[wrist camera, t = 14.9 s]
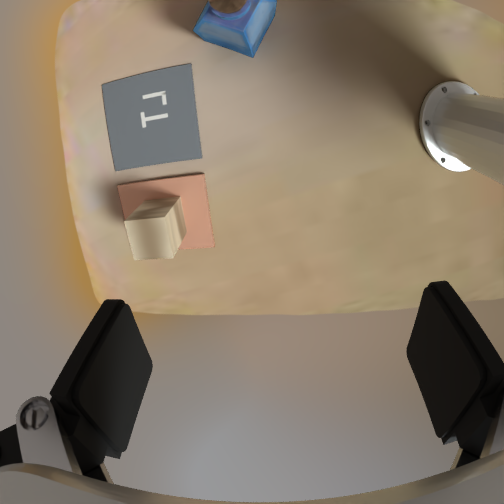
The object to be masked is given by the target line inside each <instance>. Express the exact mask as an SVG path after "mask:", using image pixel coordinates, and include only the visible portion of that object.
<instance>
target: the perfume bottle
mask: <svg viewBox="0 0 504 504" xmlns="http://www.w3.org/2000/svg"><path fill="white" fill-rule="evenodd" d="M276 3H277V0H208V2H207V4H206V6H205V8H204V10H203V12H202V13H201V15H200V17H199V19H198V21H197V23H196V25H195V27H194V29H193V31H194V32H195V33H196V34H198V35H199V36H200V37H201V38H202V39H203V40H204V41H207V42H210V43H213V44H216V45H219V46H222V47H225V48H228V49H231V50H234V51H236V52H239V53H242V54H244V55H247V56H250V57H252V58H253V57H254V55H255V53H256V51H257V49H258V47H259V45H260V43H261V41H262V39H263V37H264V35H265V33H266V31H267V29H268V27H269V26H270V24H271V22H272V20H273V18H274V16H275V10H276Z"/></svg>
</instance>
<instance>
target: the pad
mask: <svg viewBox="0 0 504 504" xmlns="http://www.w3.org/2000/svg"><path fill="white" fill-rule="evenodd" d="M117 187H118V192H119V196H120V201H121V205H122V209H123V213H124V217H125V220H126V219H127V218H128V217H129V216H130V215H131V214H132V213H133V212H134V211H135V210H136V209H137V208H138V207H139V206H140V205H141V204H142V203H143V202H144V201H145V200H153V199H161V198H170V197H180V196H181V202H182V208H183V213H184V219H185V224H186V230H187V233H186V235H185V237H184V239H183V240H182V242H181V244H180V246H179V248H178V249H194V248H209V247H214V246H215V243H214V236H213V230H212V223H211V216H210V210H209V203H208V196H207V189H206V181H205V174H195V175H186V176H178V177H170V178H162V179H155V180H148V181H141V182H134V183H128V184H122V185H118V186H117Z"/></svg>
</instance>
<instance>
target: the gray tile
mask: <svg viewBox="0 0 504 504" xmlns="http://www.w3.org/2000/svg"><path fill="white" fill-rule="evenodd" d="M102 90H103V98H104V106H105V113H106V120H107V126H108V133H109V139H110V144H111V150H112V155H113V161H114V166H115V171H120V170H125V169H131V168H137V167H143V166H149V165H156V164H162V163H169V162H177V161H184V160H192V159H200V158H202V152H201V144H200V136H199V128H198V119H197V111H196V102H195V93H194V84H193V75H192V65H191V64H186V65H181V66H175V67H170V68H166V69H161V70H156V71H152V72H148V73H143V74H139V75H135V76H131V77H128V78H124V79H120V80H117V81H113V82H110V83H107V84H103V85H102Z"/></svg>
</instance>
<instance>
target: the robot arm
mask: <svg viewBox="0 0 504 504" xmlns="http://www.w3.org/2000/svg"><path fill="white" fill-rule="evenodd" d="M425 121H426V123H425ZM419 125H420V134H421V137H422V141H423V144H424V146H425V148H426V150H427V152H428V153H429V155H430V156H431V157H432V159H433V160H434V161H435V162H436V163H438V164H439V165H441V166H442V167H444V168H446V169H448V170H451V171H457V172H462V171H467V170H469V169H473V170H475V171H477V172H479V173H481V174H483V175H485V176H487V177H489V178H491V179H493V180H495V181H497V182H499V183H500V184H502V185H504V99H503V98H497V97H490V96H483V95H479V94H478V93H477V92H476V91H475V90H474V89H473V88H471V87H470V86H468V85H467V84H464V83H461V82H455V81H448V82H443V83H440V84H438V85H437V86H435V87H434V88H433V89H432V90H431V91H430V92H429V93H428V94H427V96H426V97H425V99H424V102H423V104H422V107H421V111H420V121H419ZM407 358H408V360H409V363H410V365H411V368H412V370H413V373H414V375H415V378H416V380H417V382H418V385H419V388H420V391H421V393H422V396H423V398H424V401H425V404H426V407H427V409H428V412H429V415H430V418H431V421H432V424H433V427H434V429H435V433H436V435H437V436H438V437H439V438H441V439H442V442H443V444H444V445H445V444H447V443H451V442H454V441H458V444H459V446H460V447H459V449H458V452H457V454H456V457H455V459H454V461H453V464H452V466H451V468H450V471H446V472H444V473H440V474H437V475H434V476H431V477H428V478H425V479H421V480H418V481H414V482H410V483H407V484H403V485H399V486H395V487H391V488H387V489H382V490H377V491H372V492H367V493H362V494H356V495H350V496H343V497H336V498H328V499H319V500H308V501H294V502H269V503H268V502H261V503H258V502H255V503H254V502H253V503H252V502H250V503H249V502H226V501H212V500H201V499H192V498H184V497H176V496H169V495H163V494H158V493H152V492H147V491H142V490H137V489H132V488H128V487H124V486H120V485H116V484H114V483H113V481H112V479H111V478H110V475H109V473H108V471H107V469H106V467H105V464H104V462H103V461H104V458H105V455H106V456H110V457H113V458H118V459H120V456H121V453H122V452H124V451H125V450H126V449H127V446H128V443H129V439H130V437H131V433H132V430H133V427H134V423H135V420H136V417H137V414H138V411H139V408H140V405H141V402H142V399H143V396H144V393H145V390H146V387H147V384H148V381H149V378H150V375H151V372H152V367H153V366H152V360H151V358H150V355H149V353H148V351H147V348H146V346H145V344H144V342H143V339H142V336H141V334H140V332H139V329H138V327H137V324H136V322H135V319H134V316H133V314H132V311H131V309H130V306H129V305H128V304H125V302H124V301H123V300H121V299H107V300H105V301H104V302H103V304H102V305H101V307H100V308H99V310H98V311H97V313H96V315H95V316H94V318H93V319H92V321H91V322H90V324H89V326H88V327H87V329H86V331H85V332H84V334H83V335H82V337H81V339H80V340H79V342H78V344H77V345H76V347H75V349H74V350H73V352H72V354H71V356H70V357H69V359H68V361H67V363H66V364H65V366H64V368H63V370H62V372H61V373H60V375H59V377H58V379H57V380H56V382H55V384H54V386H53V388H52V390H51V391H50V395H51V396H52V398H51V399H50V401H49V400H48V399H47V398H45V397H42V396H36V397H32V398H30V399H28V400H27V401H25V402H24V403H23V404H22V405H21V407H20V408H19V410H18V413H17V415H16V424H15V425H13V426H11V427H8V428H6V429H4V430H3V431H0V504H504V363H503V361H502V359H501V358H500V356H499V354H498V353H497V351H496V350H495V348H494V347H493V345H492V343H491V342H490V340H489V339H488V337H487V336H486V334H485V333H484V331H483V330H482V328H481V327H480V325H479V324H478V322H477V321H476V319H475V318H474V317H473V315H472V314H471V312H470V311H469V309H468V308H467V307H466V305H465V304H464V303H463V301H462V300H461V298H460V297H459V296H458V294H457V293H456V292H455V290H454V289H453V288H452V286H451V285H450V284H449V283H448V282H447V281H438V282H431V283H430V284H429V285H428V287H426V288H425V289H424V291H423V295H422V299H421V302H420V306H419V310H418V313H417V317H416V320H415V324H414V327H413V330H412V333H411V337H410V340H409V343H408V346H407Z"/></svg>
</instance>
